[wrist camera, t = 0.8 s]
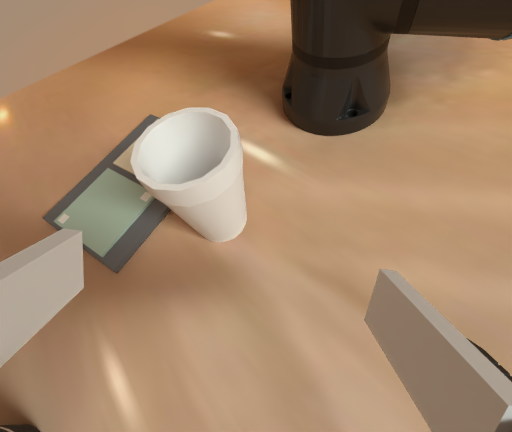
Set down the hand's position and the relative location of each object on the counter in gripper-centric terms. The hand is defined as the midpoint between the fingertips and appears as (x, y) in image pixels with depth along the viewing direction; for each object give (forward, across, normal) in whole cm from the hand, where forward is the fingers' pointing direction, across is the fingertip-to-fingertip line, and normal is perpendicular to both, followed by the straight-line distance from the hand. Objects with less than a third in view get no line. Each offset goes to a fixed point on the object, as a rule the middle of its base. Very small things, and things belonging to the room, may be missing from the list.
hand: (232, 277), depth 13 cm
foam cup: (+22, -2, -5) cm, 23 cm away
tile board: (+29, -15, -3) cm, 33 cm away
